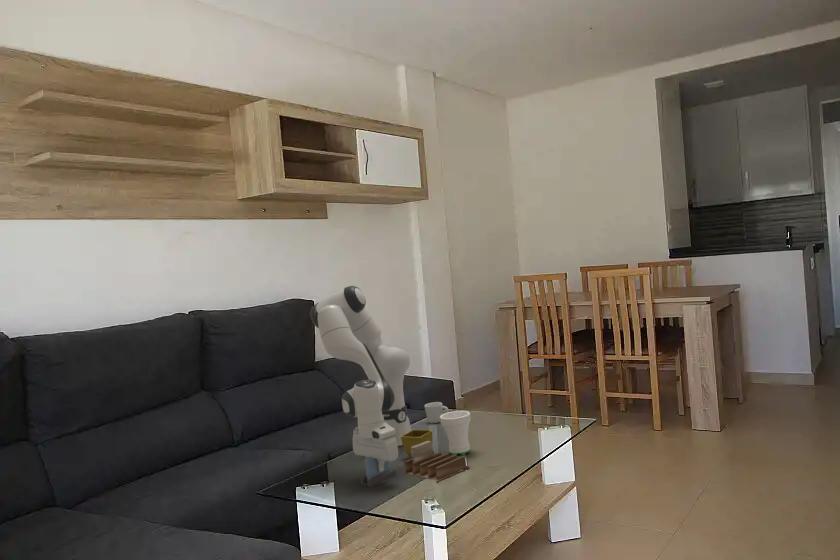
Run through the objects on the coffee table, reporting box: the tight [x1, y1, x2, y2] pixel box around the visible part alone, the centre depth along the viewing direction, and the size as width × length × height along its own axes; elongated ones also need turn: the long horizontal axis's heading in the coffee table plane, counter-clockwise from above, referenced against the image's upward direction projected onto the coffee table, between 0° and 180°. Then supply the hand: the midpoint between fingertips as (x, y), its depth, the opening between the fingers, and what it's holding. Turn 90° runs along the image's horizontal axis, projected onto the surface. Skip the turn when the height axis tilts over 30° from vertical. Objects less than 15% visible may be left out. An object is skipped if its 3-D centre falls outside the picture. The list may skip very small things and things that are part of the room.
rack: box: [402, 440, 470, 484], centre depth 227 cm, size 17×15×9 cm
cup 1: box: [424, 401, 450, 424], centre depth 296 cm, size 11×8×8 cm
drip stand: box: [359, 469, 398, 488], centre depth 224 cm, size 7×11×3 cm, turn 133°
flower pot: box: [401, 429, 433, 459], centre depth 246 cm, size 9×9×9 cm
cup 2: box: [440, 410, 472, 456], centre depth 245 cm, size 11×11×14 cm
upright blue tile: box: [363, 457, 390, 483], centre depth 224 cm, size 2×8×8 cm, turn 133°
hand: (377, 470), depth 224 cm, fingers closed on upright blue tile, 2 cm apart
